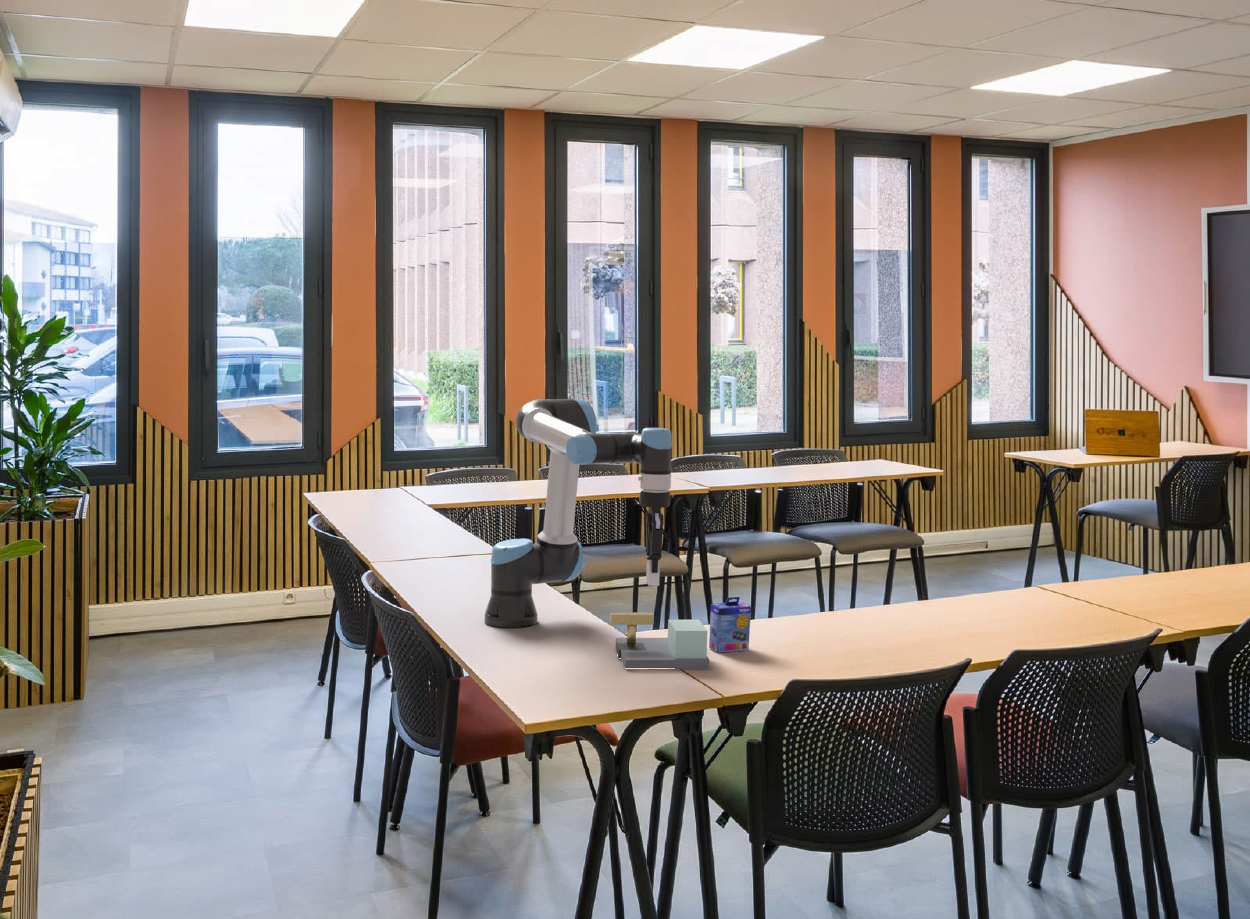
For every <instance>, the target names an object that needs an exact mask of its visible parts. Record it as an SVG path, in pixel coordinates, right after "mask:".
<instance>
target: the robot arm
mask: <svg viewBox="0 0 1250 919" xmlns="http://www.w3.org/2000/svg"><path fill="white" fill-rule="evenodd" d="M597 424H598V422H597V417H596V413H595V410H594V408H593V406H592V405H591V403H590V402H588V401H587V400H584V399H577V398H553V399H549V398H547V399H546V398H539V399H538V398H537V399H533V400H531V401H528V402H527V403H525V404H524V405H523V406H522V407H521V408H520V409H519V410H518V412H517V414H516V418H515V427H516V429H517V430H516V431H518V433H519V435H520V436H522V437H523V438H524V439H526V440H527V441H530V442H531V443H535V444H536V443H543V444H545V446H546V447H547V448H548V449H549V450H550V454H549V466H548V474H547V476H548V477H547V486H546V487H547V488H546V497H545V498H546V499H545V508H544V509H545V511H544V519H543V529H542V531H540V532H539V533H538V534H537V538H536V539H537V540H536V543H534V542H533V541H532V539H529V538H511V539H506V540H503V541H500V542H497V543H496V544H494V545H493V547H492V549H491V558H490V563H491V564H490V565H491V567H490V568H491V572H490V573H491V574H490V575H491V576H490V578H491V581H490V582H491V583H490V587H491V588H490V590H491V591H490V597H489V600H488V603H487V606H486V609H485V612H484V623H485V624H486V625H488V626H493V627H498V628H522V627H521V626H526V627H528V626H527V625H531V626H533V625H532V624H534V623H536V622H537V623H538V616H539V615H538V612H537V608H536V605H535V601H534V599H533V598H534V597H533V591H532V590H533V585H538V584H549V583H564V582H568V581H574V580H575V579H576V578H577V577H579V575H580V574H581V572H582V570H583V566H584V559H585V558H584V556H585V555H584V553H583V552H584V549H583V546H582V544H581V543H580V542H579V541H578V537H577V535H575V534H574V526H575V524H574V523H575V514H576V504H577V493H578V485H579V476H580V475H579V473H580V465H581V466H587V465H604V464H606V465H607V464H639V465H640V476H638V478H637V480H638V481H640V489H641V490H640V492H639V505H640V506H641V507H644V508H648V509H647V510H648V512H645V522H646V524H645V527H646V528H645V553H646V578H645V579H646V580H645V581H646V582H645V583H646V584H647V586H651V587H652V586H654V587H656V586H657V587H659V586H660V575H661V574H660V571H661V570H660V569H661V559H662V550H663V549H662V546H663V529H664V528H663V527H664V514H663V513H662V510H661V509H662V508H668V507H669V506H670V505H671V492H670V491H669V490H671V487H672V486H671V485H672V483H671V482H672V473H671V471H672V452H673V451H672V450H673V443H672V442H673V441H672V440H673V439H672V438H673V437H672V432H671V430H670V429H669V428H663V427H644V428H643V429H642V431H641V433H637V432H634V431H631V432H628V431H627V432H626V431H625V432H622V433H597V430H598V429H597V428H598V425H597ZM537 623H536V624H537ZM534 625H535V624H534Z"/></svg>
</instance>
